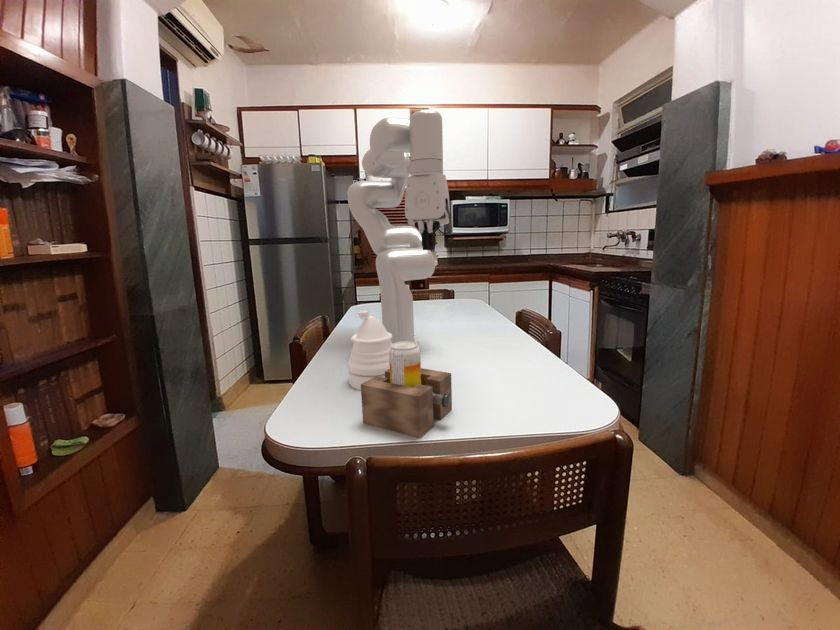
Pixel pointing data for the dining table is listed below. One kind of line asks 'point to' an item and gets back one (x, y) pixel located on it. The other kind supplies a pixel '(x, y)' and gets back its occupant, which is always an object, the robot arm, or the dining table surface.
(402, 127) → the robot arm
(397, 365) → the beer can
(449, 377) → the brown wooden clamp block
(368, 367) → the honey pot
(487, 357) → the dining table surface
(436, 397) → the plunger
